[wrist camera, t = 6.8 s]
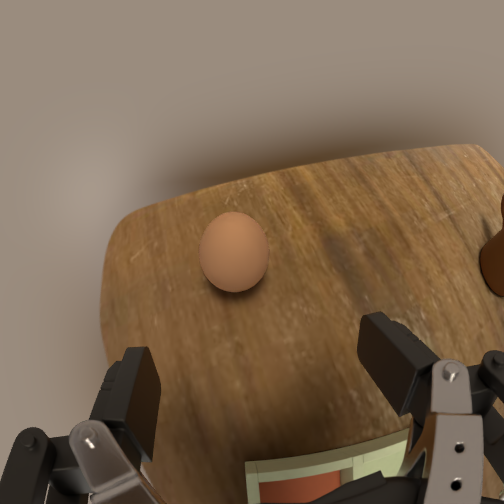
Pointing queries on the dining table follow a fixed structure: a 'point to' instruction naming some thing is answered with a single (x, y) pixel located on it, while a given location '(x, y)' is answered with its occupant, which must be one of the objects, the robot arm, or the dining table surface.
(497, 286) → the mug
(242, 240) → the egg
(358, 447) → the egg tray
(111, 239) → the dining table surface
